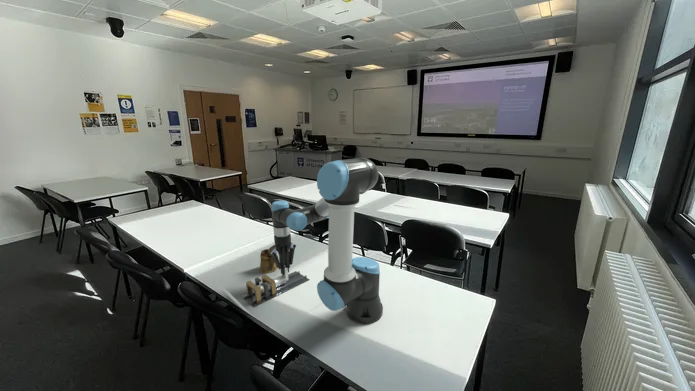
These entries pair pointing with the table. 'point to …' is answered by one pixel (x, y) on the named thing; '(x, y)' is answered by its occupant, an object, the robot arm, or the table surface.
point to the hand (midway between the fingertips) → (285, 279)
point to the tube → (279, 281)
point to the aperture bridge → (263, 286)
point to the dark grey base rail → (278, 288)
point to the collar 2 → (272, 282)
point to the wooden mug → (267, 261)
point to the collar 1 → (251, 286)
